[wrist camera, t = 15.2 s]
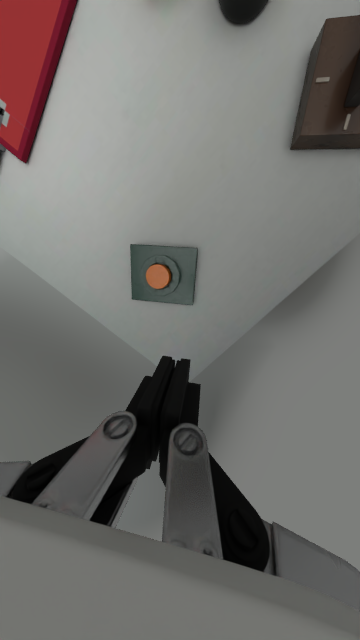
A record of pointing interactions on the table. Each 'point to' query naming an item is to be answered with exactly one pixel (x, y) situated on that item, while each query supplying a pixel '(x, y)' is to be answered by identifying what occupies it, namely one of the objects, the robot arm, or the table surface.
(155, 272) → the orange push button
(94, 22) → the table surface
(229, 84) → the table surface
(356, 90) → the dial knob
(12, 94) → the red board with handle
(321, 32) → the dial panel
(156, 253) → the green button base
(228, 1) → the supplement bottle
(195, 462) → the robot arm
